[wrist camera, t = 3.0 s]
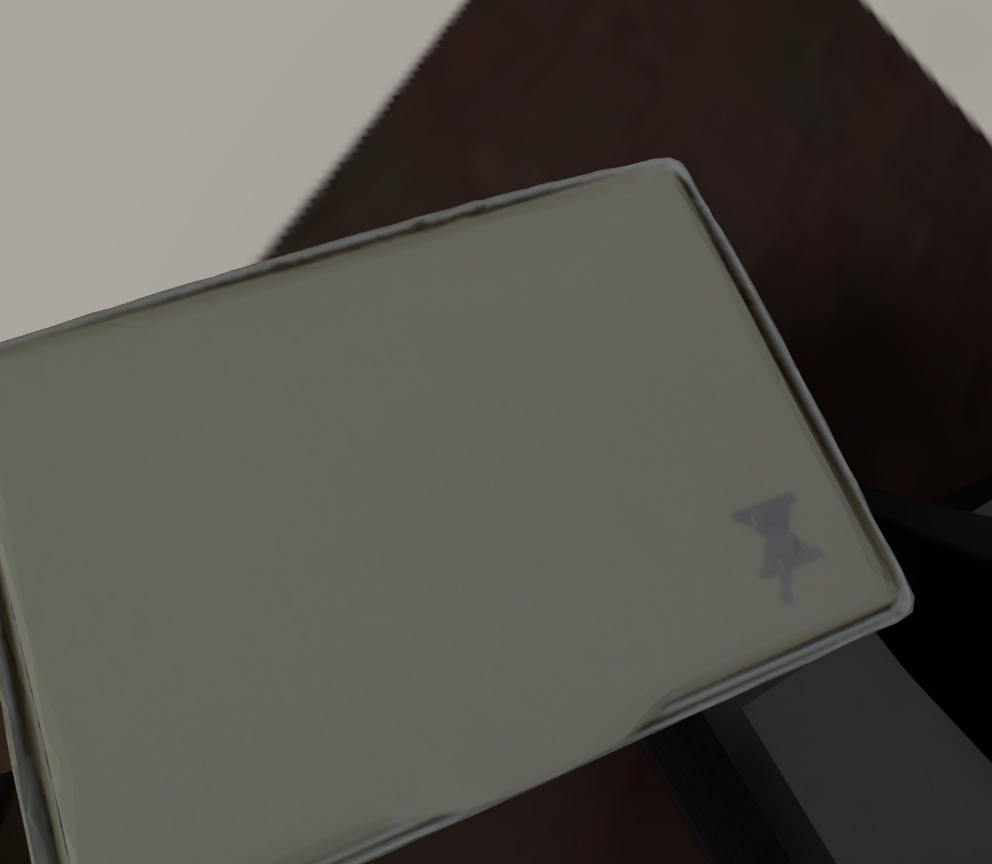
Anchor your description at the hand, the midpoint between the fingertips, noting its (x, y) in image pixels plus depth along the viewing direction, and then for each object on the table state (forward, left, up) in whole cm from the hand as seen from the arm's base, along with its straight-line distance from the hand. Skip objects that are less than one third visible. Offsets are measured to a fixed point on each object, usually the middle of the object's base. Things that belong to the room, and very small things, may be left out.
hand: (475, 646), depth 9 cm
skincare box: (+1, 0, -9) cm, 9 cm away
